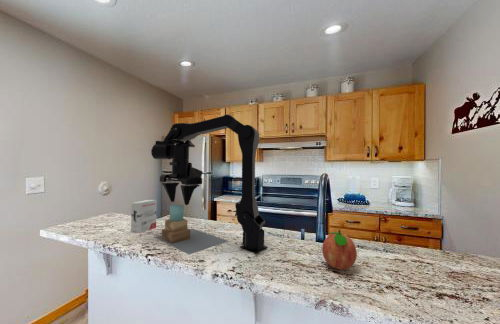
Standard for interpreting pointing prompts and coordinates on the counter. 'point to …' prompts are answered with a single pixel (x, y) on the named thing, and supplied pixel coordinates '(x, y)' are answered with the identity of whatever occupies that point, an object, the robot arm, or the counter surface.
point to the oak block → (175, 225)
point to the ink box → (143, 216)
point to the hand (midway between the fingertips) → (179, 203)
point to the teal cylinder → (176, 213)
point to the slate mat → (196, 242)
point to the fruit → (339, 251)
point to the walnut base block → (175, 236)
